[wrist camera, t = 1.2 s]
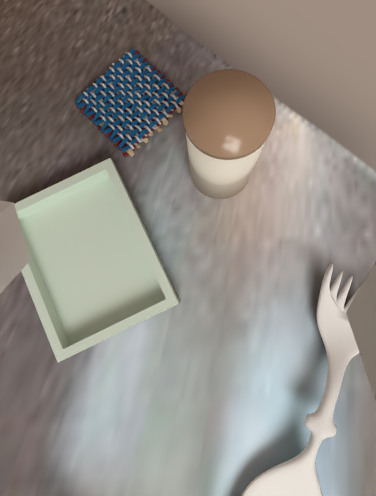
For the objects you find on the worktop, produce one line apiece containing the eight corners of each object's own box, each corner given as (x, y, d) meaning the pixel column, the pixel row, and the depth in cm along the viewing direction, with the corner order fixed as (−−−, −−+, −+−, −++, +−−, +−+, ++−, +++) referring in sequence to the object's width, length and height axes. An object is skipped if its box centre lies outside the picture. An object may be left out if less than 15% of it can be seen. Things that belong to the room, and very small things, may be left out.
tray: (11, 216, 37) (-3, 211, 34) (116, 166, 37) (110, 157, 34) (68, 357, 34) (57, 362, 32) (180, 302, 34) (178, 303, 32)
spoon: (396, 294, 34) (418, 294, 30) (296, 594, 30) (309, 633, 27) (318, 263, 34) (330, 260, 31) (212, 551, 31) (214, 584, 28)
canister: (178, 156, 37) (167, 93, 25) (233, 130, 37) (248, 54, 25) (206, 210, 36) (207, 171, 24) (262, 182, 36) (292, 130, 24)
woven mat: (192, 105, 38) (191, 95, 36) (130, 163, 37) (125, 156, 35) (136, 53, 39) (132, 40, 37) (75, 107, 39) (68, 98, 37)
